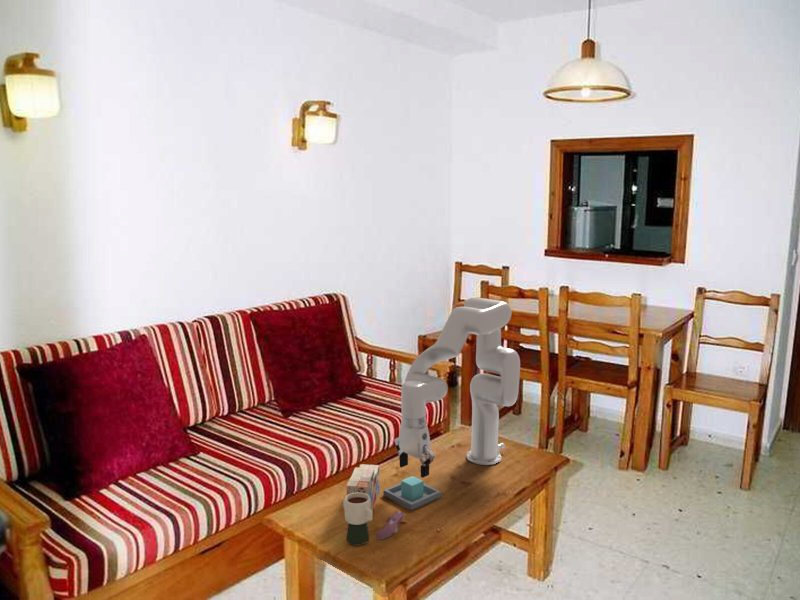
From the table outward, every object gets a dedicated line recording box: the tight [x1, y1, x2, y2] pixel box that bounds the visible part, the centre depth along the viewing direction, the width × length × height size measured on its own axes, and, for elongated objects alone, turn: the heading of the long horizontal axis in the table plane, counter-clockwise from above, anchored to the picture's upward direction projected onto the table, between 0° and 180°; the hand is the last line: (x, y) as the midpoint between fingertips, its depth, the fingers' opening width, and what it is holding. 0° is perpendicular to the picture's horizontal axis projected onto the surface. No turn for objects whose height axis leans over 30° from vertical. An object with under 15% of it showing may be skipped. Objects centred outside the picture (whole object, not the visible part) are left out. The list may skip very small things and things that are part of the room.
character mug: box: [342, 492, 373, 546], centre depth 181 cm, size 11×7×13 cm, turn 49°
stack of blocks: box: [346, 463, 380, 524], centre depth 200 cm, size 21×6×12 cm, turn 172°
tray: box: [382, 482, 442, 512], centre depth 208 cm, size 13×13×2 cm
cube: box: [400, 475, 425, 501], centre depth 208 cm, size 5×5×5 cm
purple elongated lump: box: [376, 510, 406, 540], centre depth 186 cm, size 10×5×7 cm, turn 161°
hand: (414, 471), depth 207 cm, fingers open, 9 cm apart
